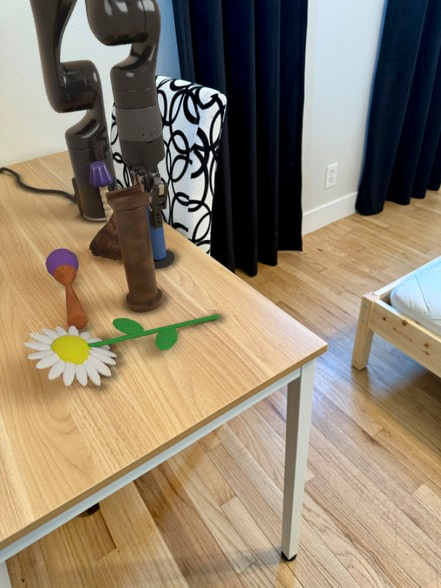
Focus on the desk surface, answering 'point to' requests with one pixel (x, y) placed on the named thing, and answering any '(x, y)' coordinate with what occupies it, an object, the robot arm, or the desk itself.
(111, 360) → the decorative flower
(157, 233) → the tube
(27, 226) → the desk surface
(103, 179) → the toy lamp
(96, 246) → the decorative rock
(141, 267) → the post
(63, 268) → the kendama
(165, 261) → the coaster
